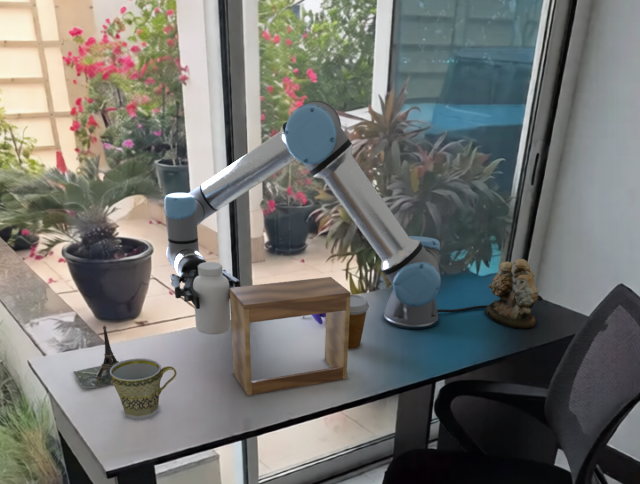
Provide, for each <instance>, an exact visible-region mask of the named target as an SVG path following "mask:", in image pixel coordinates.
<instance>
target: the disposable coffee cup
mask: <svg viewBox="0 0 640 484" xmlns="http://www.w3.org/2000/svg"><path fill="white" fill-rule="evenodd" d="M369 307H370V305H369V301H368V299H367V298H365V297H364V296H361V295H358V294H351V298H350V318H349V339H348V350H355V349H358V348H360V347H361V344H362V337H363V332H364V327H365V322H366V318H367V317H366V316H367V313H368V312H367V311H368V309H369Z"/></svg>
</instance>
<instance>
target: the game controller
mask: <svg viewBox="0 0 640 484" xmlns="http://www.w3.org/2000/svg"><path fill="white" fill-rule="evenodd" d="M322 318H324V319H325V320H326V313H322V314H314V315H311V317H310V319H314V320H315V322H317V323H318V324H319V325H323V324H324V323H323V319H322ZM302 319H305V320H306V319H307V317H305V316H302Z"/></svg>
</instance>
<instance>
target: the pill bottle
mask: <svg viewBox="0 0 640 484" xmlns="http://www.w3.org/2000/svg"><path fill="white" fill-rule="evenodd" d="M222 270H223V265H222V264H221V263H220V262H216V261H206V262H204V263H201V264H199V265H198V274H199V276H197V277H196V278H195V279H194V282H193V289H194V290H195V292H196V293H197V294H198V296H199V301H200V309H196V307H195V306H194V318H195V320H194V321H195V327H196V330H197V331H198V332H199V333H201V334H205V335H220V334H225V333H226V332H228V331H229V330H230V329H231V310H230V297H229V282H228V279H227V278H226V277H225V276H223V273H222Z"/></svg>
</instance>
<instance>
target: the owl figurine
mask: <svg viewBox="0 0 640 484" xmlns="http://www.w3.org/2000/svg"><path fill="white" fill-rule="evenodd" d="M498 267H499V269H498V272H497V273H496V275H495V276H494V278H493V279H492V283H490V284H489V285H488V288H489V289H491V293H492V295H494V296H496V297H498V298H499V299H497V300H494V301H493V302H491V303H490V304H487V305H488V306H487V307H486V308H485V312H484V313H485V315H486V316H488V318H489V319H490V320H492V321H493V322H495V323H497V324H499V325H503V326H505V327H509V328H514V329H520V330H521V329H522V330H525V329H531V328H533V327H536V323H537V321H536V318H535V316H534V315H533V313H531V309H532V308H533V307H534V306H535V304H536V303H537V301H538V299H539V298H538V297H537V296H538V295H539V289H538V287H537V286H536V284H535V276H536V275H535V272H534V271H533V270H532V269H531V266H530V263H529V262H528V261H527V260H526V259H524V258H518V259H515V260H514V261H513V263H512V262H511V261H502V262H501V263H500V264H499V266H498Z"/></svg>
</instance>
